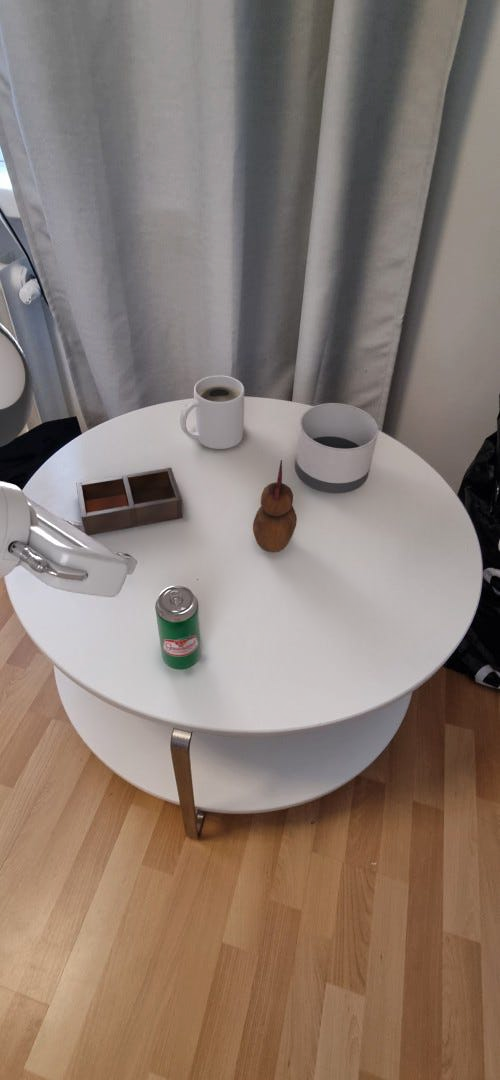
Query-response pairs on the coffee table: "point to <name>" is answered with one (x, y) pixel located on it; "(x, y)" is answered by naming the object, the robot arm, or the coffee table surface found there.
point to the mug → (216, 412)
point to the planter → (335, 447)
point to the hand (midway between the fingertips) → (104, 547)
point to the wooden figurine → (275, 516)
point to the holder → (129, 501)
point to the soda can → (178, 627)
